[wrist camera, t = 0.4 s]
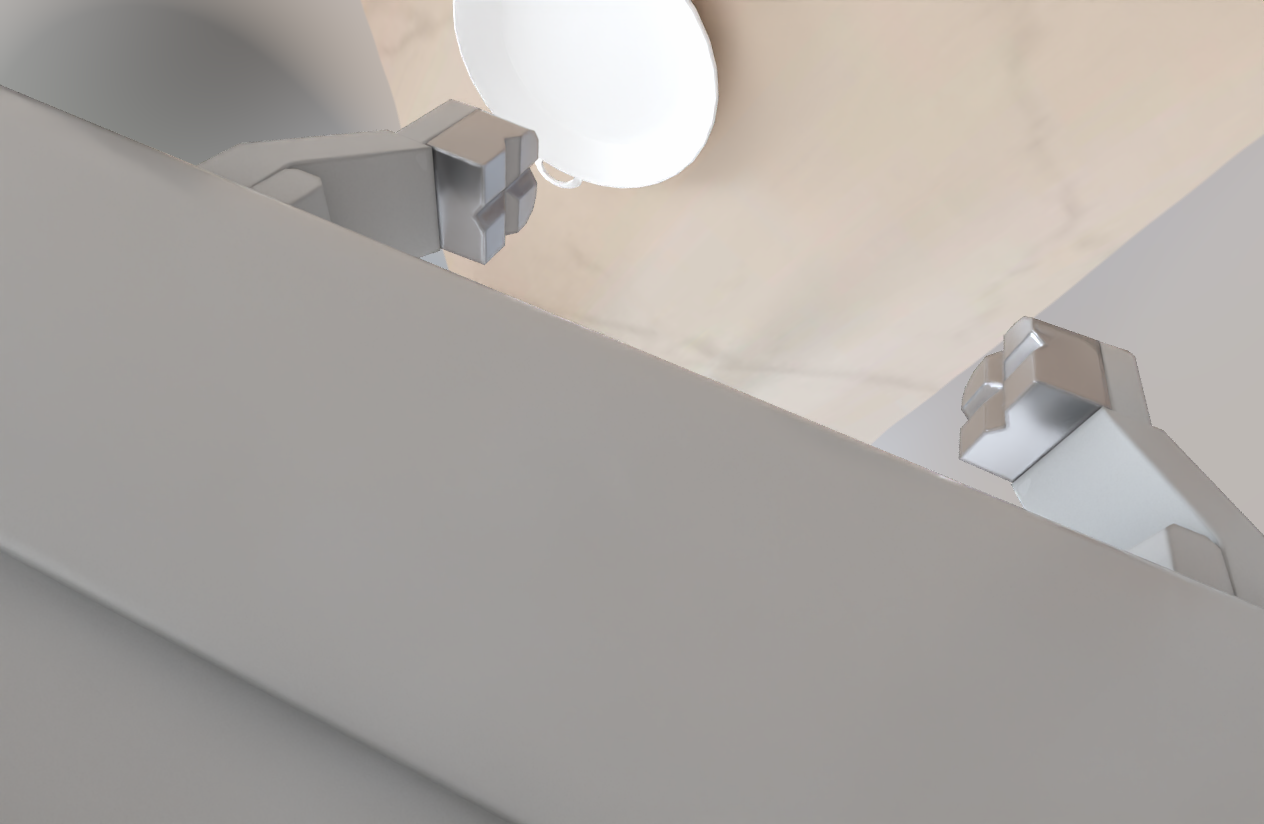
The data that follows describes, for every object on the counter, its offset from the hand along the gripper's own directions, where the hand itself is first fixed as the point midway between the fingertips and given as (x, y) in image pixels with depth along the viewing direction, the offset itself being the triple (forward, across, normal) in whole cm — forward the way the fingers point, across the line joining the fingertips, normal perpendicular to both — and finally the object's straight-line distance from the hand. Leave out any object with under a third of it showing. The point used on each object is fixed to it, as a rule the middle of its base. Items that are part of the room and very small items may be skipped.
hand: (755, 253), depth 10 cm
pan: (+56, +25, +20) cm, 65 cm away
